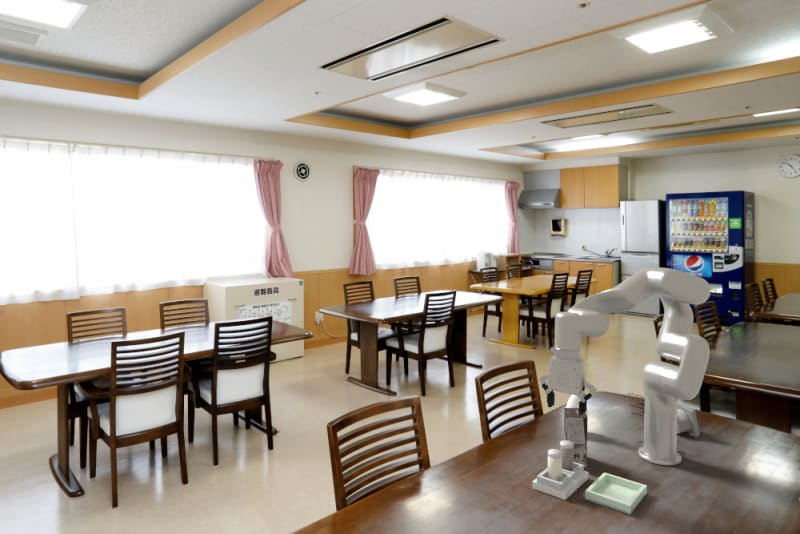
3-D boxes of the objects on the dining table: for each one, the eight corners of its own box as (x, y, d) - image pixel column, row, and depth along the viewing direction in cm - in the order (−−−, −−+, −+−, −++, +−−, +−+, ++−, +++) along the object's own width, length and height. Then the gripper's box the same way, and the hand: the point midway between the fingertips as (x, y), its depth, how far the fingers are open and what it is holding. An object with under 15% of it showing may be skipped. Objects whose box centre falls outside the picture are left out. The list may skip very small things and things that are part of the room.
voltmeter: (704, 432, 186) (705, 406, 185) (694, 442, 178) (694, 414, 177) (630, 414, 205) (631, 390, 205) (618, 421, 198) (619, 396, 197)
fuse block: (556, 468, 160) (557, 434, 159) (588, 478, 154) (588, 443, 153) (532, 488, 148) (532, 451, 148) (565, 500, 142) (565, 461, 141)
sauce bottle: (568, 426, 193) (569, 380, 192) (590, 431, 189) (590, 383, 187) (562, 433, 187) (562, 385, 186) (583, 438, 182) (584, 389, 181)
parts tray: (604, 480, 152) (604, 472, 152) (646, 493, 144) (646, 485, 144) (585, 499, 142) (585, 490, 142) (629, 515, 134) (630, 505, 134)
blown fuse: (563, 467, 157) (563, 439, 156) (575, 471, 154) (576, 442, 153) (557, 472, 154) (557, 443, 153) (570, 476, 151) (570, 447, 150)
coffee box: (587, 467, 160) (588, 418, 159) (566, 466, 162) (566, 416, 161) (583, 455, 169) (583, 407, 168) (562, 453, 171) (563, 406, 169)
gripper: (534, 351, 154) (533, 406, 156) (591, 361, 143) (589, 420, 144) (546, 347, 160) (545, 400, 161) (601, 356, 148) (599, 413, 149)
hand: (566, 410), depth 152 cm, fingers open, 9 cm apart
